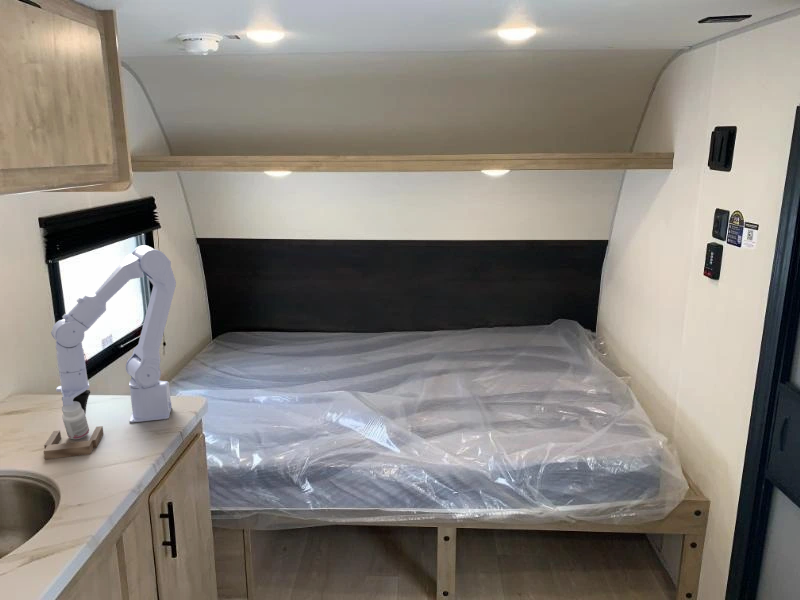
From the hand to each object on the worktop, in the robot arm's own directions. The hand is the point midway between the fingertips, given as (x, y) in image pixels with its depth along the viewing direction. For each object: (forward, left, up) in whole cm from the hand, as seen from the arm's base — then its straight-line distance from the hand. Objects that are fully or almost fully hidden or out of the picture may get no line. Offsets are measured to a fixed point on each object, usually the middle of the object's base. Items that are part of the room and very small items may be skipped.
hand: (79, 421), depth 150 cm
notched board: (0, +7, -3) cm, 8 cm away
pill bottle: (0, +2, -2) cm, 3 cm away
